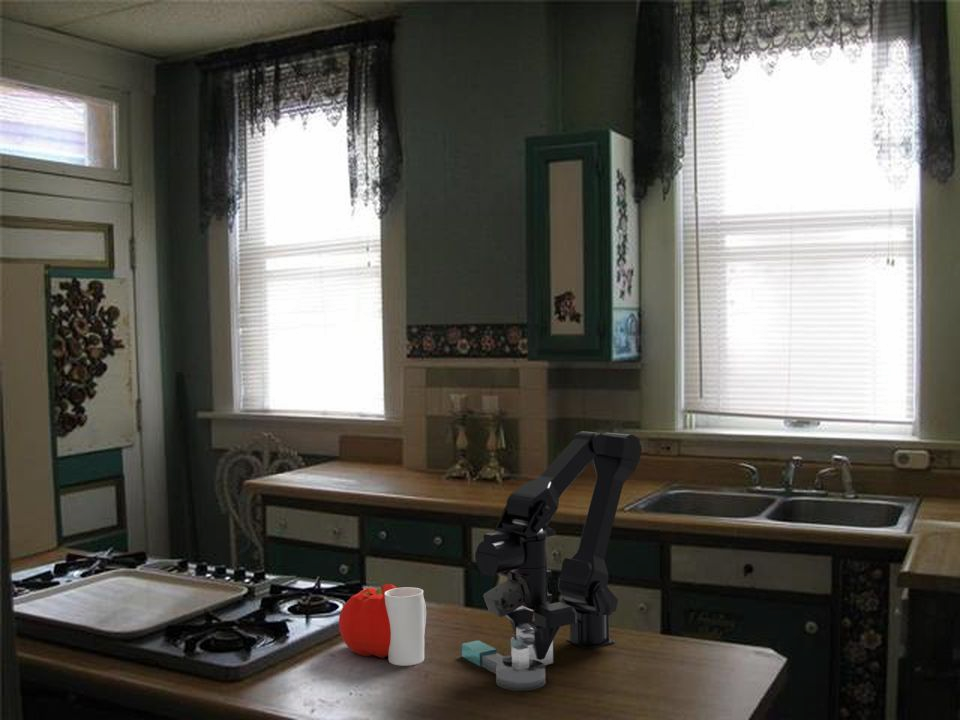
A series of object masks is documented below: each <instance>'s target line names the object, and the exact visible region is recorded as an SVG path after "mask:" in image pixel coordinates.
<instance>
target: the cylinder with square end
mask: <svg viewBox="0 0 960 720" xmlns="http://www.w3.org/2000/svg"><path fill="white" fill-rule="evenodd" d="M518 645H524V646H526V647H528V648H529V659H532V660H537V661H539V662H542V663H543V664H544V665H545V666H547V665H551V664H554V640H553V641H552V643H551V645H550V647H549V650H548V652H547V654H546V656H545V658H544V659H542V660H539V659H538V656H537V650H536V640H535V631H534V629H533V628H532V627H531V626H530V625H529V624H528V623H524V624H520V625H518V626H517V627H516V637H515V636H514V637H513V636H512V637H510V655H512V647H513V646H518Z"/></svg>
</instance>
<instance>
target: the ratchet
mask: <svg viewBox="0 0 960 720" xmlns="http://www.w3.org/2000/svg"><path fill="white" fill-rule="evenodd" d="M461 657H462V658H464V659H466V660H467V661H469V662H471V663H473V664H475V665H476V666H478V667H482V668H484V669H485V670H487V671H489V672H490V673H493V674H495V683H496V685H497V686H498V687H499V688H501V689H504V690H508V691H513V692H523V691H524V692H525V691H533V690H537V689H540V688H543V686H545V684H546V665H544V664H543V663H542V662H539V661H537V660H532V659H529V648H528V647H526V646H524V645H518V646H513V647H512V655H511V654H510V655H508V654H507V655H502V654H501V653H498V652H497V648H495V647H493V646H491V645H489V644H487V643H484V642H482V641H481V640H480V639H478V640H474V641H473V640H472V641H468V642H464V643H461Z"/></svg>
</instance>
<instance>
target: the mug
mask: <svg viewBox="0 0 960 720" xmlns="http://www.w3.org/2000/svg"><path fill="white" fill-rule="evenodd" d="M384 594H385V605H386V609H387V613H388V617H389V622H390V630H391V638H390V646H389V651H388V656H387V658H388V659H387V660H388V662H389V663H390V664H392V665H395V666H404V667H405V666H406V667H407V666H413V665H414V666H415V665H418V664H421V663H423V662H424V660H425V631H426V622H427V607H426V601H425V598H424V590H423V589H421V588H419V587H408V586H407V587H396V588H395V589H391V590H388V591H386V592H385V593H384Z"/></svg>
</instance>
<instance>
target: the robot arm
mask: <svg viewBox="0 0 960 720" xmlns="http://www.w3.org/2000/svg"><path fill="white" fill-rule="evenodd" d="M642 448H643V446H642V445H641V443H640V440H639V439H638V437H637V436H636V435H634V434H627V433H617V432H604V433H602V434H601V433H599V432H592V431H583V430H582V431H579V432H577V433H575V434H574V436H573V438H572V441H570V443H569V444H567V446H566V447H565V448H564V449H563V450H562V452H561V453H560V454H559V455H558V456H557V457H556V458H555V459H554V460H553V461H552V462H551V464H549V465H548V467H546V468H545V470H544V471H543V472H542V473H541V475H539V476H538V477H537V478H535V479H534V480H531V481H528V482H526V483H524V484H521V486H519V487H517V489H515V490H514V491H513V492H512V493H510V495H509V496H508V498H507V501H506V505H505V507H504V509H503V511H502V513H501V515H500V517H499V519H498V522H497V524H496V525H495V528H494V531H495V532H486V533H484V534H483V540H482V541H481V542H480V543H479V544H478V546H477V547H476V551H475V552H474V559H475V563H476V566H477V568H478V569H479V572H481V573H482V574H483V575H484V576H487V577H490V576H495V575H498V574H503V573H506V572H507V579H506V581H504V582H501V583H499V584H497V585H496V586H494V587H492V588H491V589H489V590H488V591H486V592H485V593H484V594H483V595H482V596H483V599H484V602H485V604H486V607H487V610H488V612H489V613H491V614H494V615H496V616H497V617H501V618H502V617H506V618H507V619H508V620H509V623H510V625H511V628H512V631H513V633H514V637H516V627H517V626H518V625H520V624H524V623H528V624H529V625H530V626H531V627H532V628H533V629H534V631H535V640H536V650H537V656H538V659H539V660H542V659H544V658H545V656H546V654H547V652H548V650H549V647H550V645H551V643H552V641H553V642H554V638H555V637H556V635H557V633H558V631H559V629H560V628H561V627H564V626H565V627H566V626H568V625H569V635H570V636H569V637H567V638H566V641H567V642H569V643H570V644H573V645H575V646H578V647H579V648H580V647H581V648H582V649H585V650H593V649H596V648H602V647H605V646H611V645H614V644H616V641H615V640H614V639H612V638H610V616H611V615H612V614H613V613H615V612H616V611H617V608H618V603H619V602H618V601H619V599H618V598H617V597H616V595H615V594H614V593H613V592H612V591H611V590H610V588H609V587H608V584H609V577H610V576H609V572H608V568H607V565H606V561H605V559H606V553H607V550H608V545H609V542H610V537H611V533H612V529H613V526H614V521H615V518H616V515H617V510H618V507H619V502H620V497H621V494H622V490H623V486H624V484H625V482H626V481H627V480H628V479H629V478H630V477H631V476H632V475H633V474H634V473H635V472H636V469H637V467H638V464H639V462H640V459H641V457H642V452H643V451H642V450H643V449H642ZM591 462H593V465H594V469H595V474H596V480H595V483H594V487H593V492H592V495H591V499H590V503H589V507H588V511H587V513H586V518H585V522H584V526H583V529H582V533H581V538H580V541H579V545H578V549H577V551H576V552H575V553H574V555H573V556H571V558H570V557H564V558H563V561H562V563H561V570H560V573H559V575H558V576H557V580H559V581H558V591H559V593H560V596H561V598H562V602H561V601H557V602H553V601H554V600H553V594H552V593H549V592H548V579H550V578H553V571H552V570H550V569H548V560H547V559H548V555H547V554H548V550H547V549H548V547H547V542H548V541H547V538H550V537H554V536H555V535H556V531H555V530H553V529H552V528H551V527H550V526H549V525H548V524H549V522H551V520H552V519H553V516H554V515H555V513H556V512H557V510H558V509H559V505H560V497H561V496H562V495H563V493H564V492H565V491H566V490H567V489H568V487H570V486H571V484H572V483H573V482H574V481H575V480H576V479H577V477H578V476H579V475H580V474H581V473H582V472H583V471H584V469H586V467H587V466H588V465H589V464H590V463H591ZM513 523H514V524H513ZM547 602H553V603H547ZM533 619H534V621H533Z"/></svg>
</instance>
